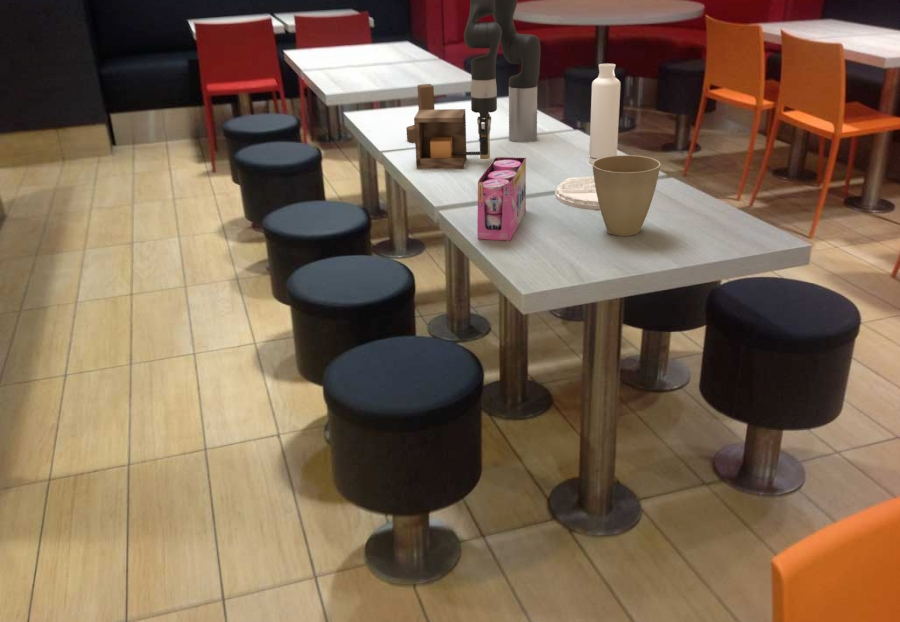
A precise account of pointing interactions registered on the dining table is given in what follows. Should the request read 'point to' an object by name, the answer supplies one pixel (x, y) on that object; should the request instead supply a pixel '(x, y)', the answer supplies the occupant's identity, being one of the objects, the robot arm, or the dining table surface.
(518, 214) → the gum box
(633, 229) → the plant pot
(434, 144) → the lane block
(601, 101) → the bottle
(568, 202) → the medallion
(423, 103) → the wooden block
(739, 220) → the dining table surface
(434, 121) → the box
